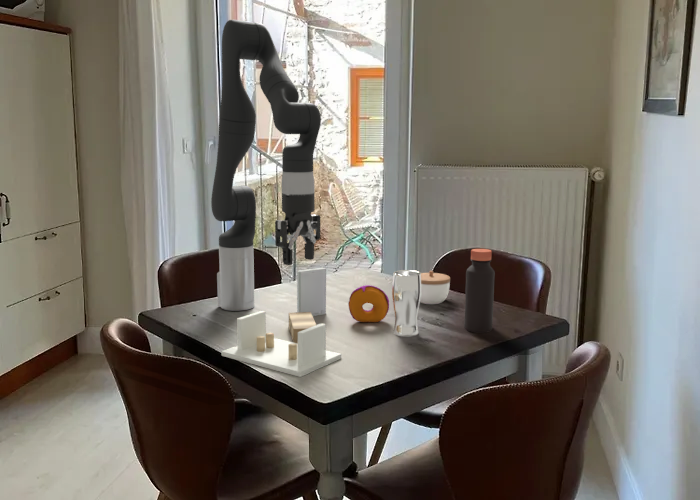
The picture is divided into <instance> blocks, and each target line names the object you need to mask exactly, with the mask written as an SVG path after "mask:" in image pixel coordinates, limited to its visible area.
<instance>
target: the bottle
mask: <svg viewBox="0 0 700 500" xmlns="http://www.w3.org/2000/svg"><path fill="white" fill-rule="evenodd" d="M492 251H493V250H491V249H488V248H472V249H471V250H470V261H471V265H469V266H468V268H467V269H466V270H465V271H466V272H465V292H464V293H465V296H464V297H465V298H464V299H465V300H464V321H463V322H464V323H463V327H464V330H466V331H468V332H470V333H471V332H472V333H477V334H478V333H481V334H482V333H488V332H492V330H493V322H494V321H493V317H494V295H495V294H494V293H495V276H496V273H495V270H494V268H493V267H492V266H491V262H492Z"/></svg>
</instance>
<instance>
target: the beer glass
mask: <svg viewBox="0 0 700 500" xmlns="http://www.w3.org/2000/svg"><path fill="white" fill-rule="evenodd" d="M421 273H422V272H420V271H417V270H413V269H412V270H411V269H400V270H395V271H394V272H393V273H392V275H393V276H392V284H391V287H392V288H391V289H392V291H391V295H392V303H393V311H394V324H393V325H394V326H393V330H392V333H393V334H394V335H395V336H398V337H404V338H410V337H415V336H418V334H419V328H418V327H419V326H418V314H419V310H420V309H419V308H420V305H421V303H420V299H421Z"/></svg>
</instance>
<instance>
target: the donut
mask: <svg viewBox="0 0 700 500" xmlns="http://www.w3.org/2000/svg"><path fill="white" fill-rule="evenodd" d="M365 304H370V305H372V308H371V309H369V310H367V309H364V307H363V306H364V305H365ZM348 309H349V313H350V316H351V317H352V319H353V320H355V321H357V322H361V323H378V322H381V321H382V320H384V319H385V318H386V316H387V315H388V313H389V310H390V300H389V296H388V295H387V294H386V292H385V291H384V290H382V289H381V288H379V287H378V286H374V285H371V284H370V285H366V284H365V285H362V286H360V287H357V288H356V289H354V290H353V291H352V292H351V294H350V295H349V301H348Z"/></svg>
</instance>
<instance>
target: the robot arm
mask: <svg viewBox="0 0 700 500" xmlns="http://www.w3.org/2000/svg"><path fill="white" fill-rule="evenodd" d="M240 60H246V61H247V60H248V61H258V62H259V63H260V64H261V65H262V68H261V70H260V74H259V87H260V89H261V91H262V92H263V94H264V96H265V98H266V100H267V101H268V104H270V109H271V112H272V118H273V125H274V127H275V129H277V131H279V132H280V133H282V134H283V135H299V137H298V139H297V142H295V143H294V144H293V143H292V144H289V145H285V147H283V148H282V155H281V157H282V158H281V159H282V160H281V162H282V175H281V210H282V212H283V213H284V214H285V215H284V219H283V220H278V219H276V220H275V222H274V235H275V238H274V241H275V247H277V248H278V247H279V248H281V249H282V250H281V251H282V262H283V265H286V266H292V265H293V263H294V262H293V255H294V254H293V250H294V249H293V247H294V246H293V245H294V243H295V241H297V240H298V237H300V236H301V237H302V238H303V241H304V259H305V260H310V261H312V260H313V259H314V258H315V257H314V256H315V244H316V243H317V241H319V240H321V215H319V214H312V213H314V212H315V202H316V201H315V200H316V199H315V196H316V195H315V193H316V192H315V191H316V190H315V176H314V175H315V174H314V153H315V148H316V145H317V143H316V142H317V139H318V137H319V132H320V128H321V122H322V116H321V112H320V110H319V108H318V107H317V105H316V104H314V103H313V102H299V101H300V94H299V92H298V91H299V90H298V89H297V87H296V86H295V84H294V83H293V81H292V80H291V79H290V78H291V77H289V75H288V74H287V72H286V71H285V68H284V67H283V64H282V62H281V58H280V57H279V53H278V50H277V48H276V46H275V42H274V41H273V38H272V36H271V34H270V31H269V30H268V28H267V27H266V25H264V24H263V23H260V22H255V21H248V20H241V19H240V20H239V19H229V20H227V21H226V22H225V24H224V26H223V30H222V35H221V93H220V94H221V95H220V96H221V97H220V106H219V108H220V109H219V118H218V134H217V135H218V140H217V141H218V142H217V154H216V155H217V156H216V164H215V165H216V166H215V172H214V177H213V184H212V191H211V201H210V202H211V203H210V204H211V212H212V216H213V217H214V219H215V220H216V221H218V222H234V223H233V225H232V226H231V227H230V228H229V229H228V230H226V231H224V232H222V233H221V234H220V235H219V237H218V259H219V263H218V264H219V271H218V272H217V273H216V283H217V288H216V289H217V306H218V307H220V308H221V309H222V310H225V311H233V312H234V311H235V312H238V311H246V310H250V309H253V308H254V307H255V272H254V271H255V269H254V268H255V267H254V265H255V263H254V259H255V257H254V239H255V235H256V219H257V218H256V217H257V201H256V196H255V193H254V191H253V189H252V187H250V186H248V185H233V184H234V179H235V174H236V171H237V169H238V167H239V165H240V164H241V162H242V160H243V159H244V157H245V156H246V154H247V153H248V151H249V149H250V148H251V146H252V144H253V142H254V139H255V134H256V133H255V132H256V120H257V114H256V110H255V107H254V105H253V103H252V100H251V98H250V96H249V94H248V93H247V91H246V88H245V86H244V84H243V81H242V77H241V67H240V64H241V63H240Z"/></svg>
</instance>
